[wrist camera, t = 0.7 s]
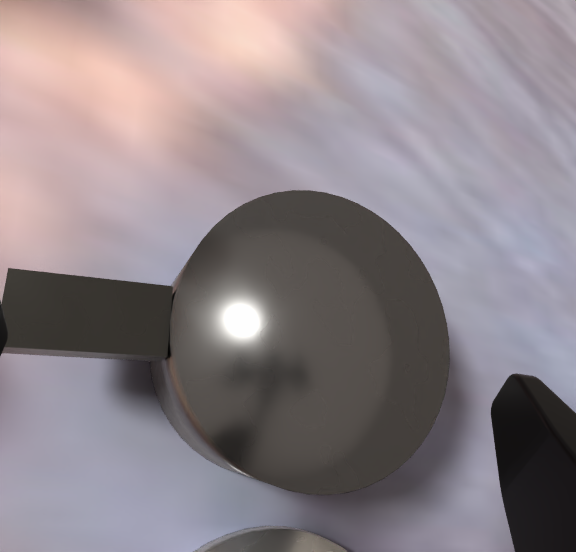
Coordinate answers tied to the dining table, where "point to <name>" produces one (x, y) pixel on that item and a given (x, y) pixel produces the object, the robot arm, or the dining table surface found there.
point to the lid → (271, 541)
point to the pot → (269, 341)
